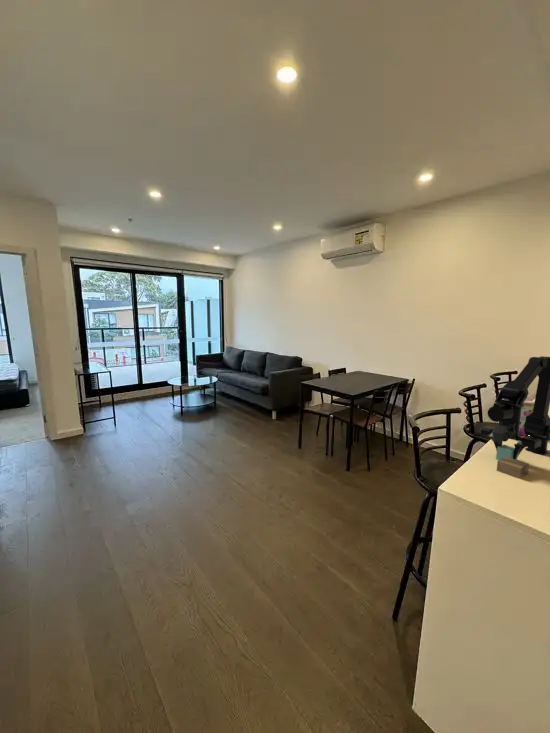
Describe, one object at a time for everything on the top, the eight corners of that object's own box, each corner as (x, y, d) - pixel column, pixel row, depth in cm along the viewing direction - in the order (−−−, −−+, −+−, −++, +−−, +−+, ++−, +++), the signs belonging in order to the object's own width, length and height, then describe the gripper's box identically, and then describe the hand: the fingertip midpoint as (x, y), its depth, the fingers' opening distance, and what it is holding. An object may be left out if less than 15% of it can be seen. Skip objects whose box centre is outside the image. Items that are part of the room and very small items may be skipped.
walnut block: (505, 467, 118) (506, 456, 118) (528, 474, 113) (529, 463, 112) (496, 471, 115) (497, 460, 114) (519, 479, 109) (520, 468, 108)
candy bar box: (515, 435, 153) (519, 402, 151) (510, 432, 158) (513, 399, 156) (542, 437, 151) (546, 403, 148) (535, 434, 155) (539, 401, 153)
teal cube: (502, 456, 127) (503, 444, 127) (516, 461, 123) (518, 448, 122) (495, 458, 125) (497, 446, 124) (510, 463, 121) (511, 451, 120)
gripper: (473, 415, 126) (470, 452, 128) (529, 428, 110) (524, 471, 112) (489, 411, 132) (485, 448, 133) (544, 424, 115) (539, 465, 117)
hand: (506, 457), depth 124 cm, fingers closed on teal cube, 5 cm apart
